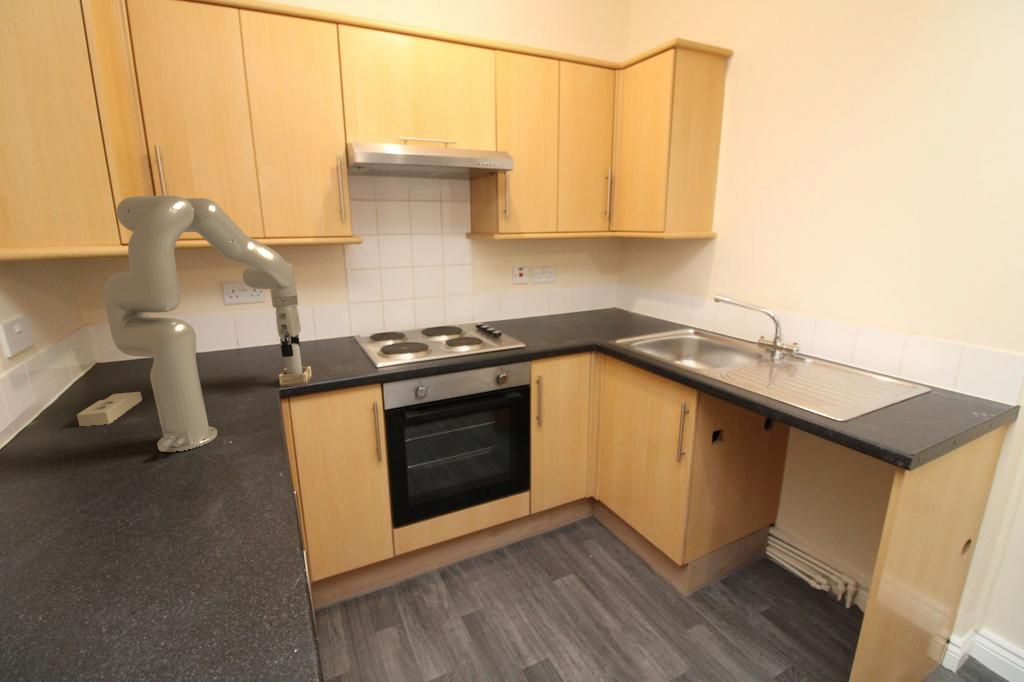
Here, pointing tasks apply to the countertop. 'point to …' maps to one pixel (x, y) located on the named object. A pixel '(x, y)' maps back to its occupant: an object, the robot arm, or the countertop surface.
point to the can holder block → (295, 377)
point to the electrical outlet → (108, 409)
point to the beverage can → (294, 361)
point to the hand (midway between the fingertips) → (291, 352)
